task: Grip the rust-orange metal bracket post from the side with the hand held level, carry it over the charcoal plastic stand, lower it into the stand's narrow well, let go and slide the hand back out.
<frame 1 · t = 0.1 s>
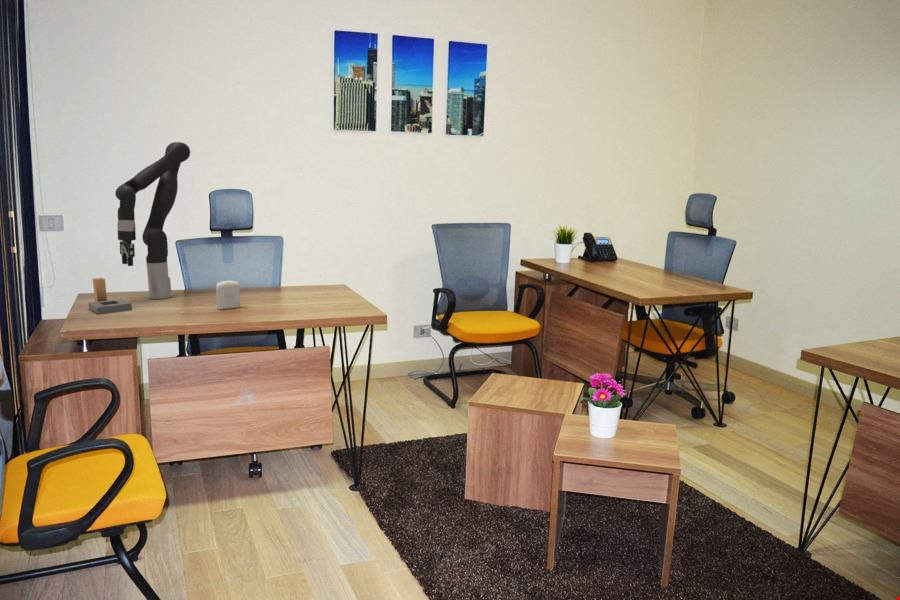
hand: (127, 264, 334), 17 cm above the table, fingers open, 8 cm apart
bracket post: (101, 304, 330), on the table
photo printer: (229, 308, 321), on the table
well stand: (110, 309, 319), on the table
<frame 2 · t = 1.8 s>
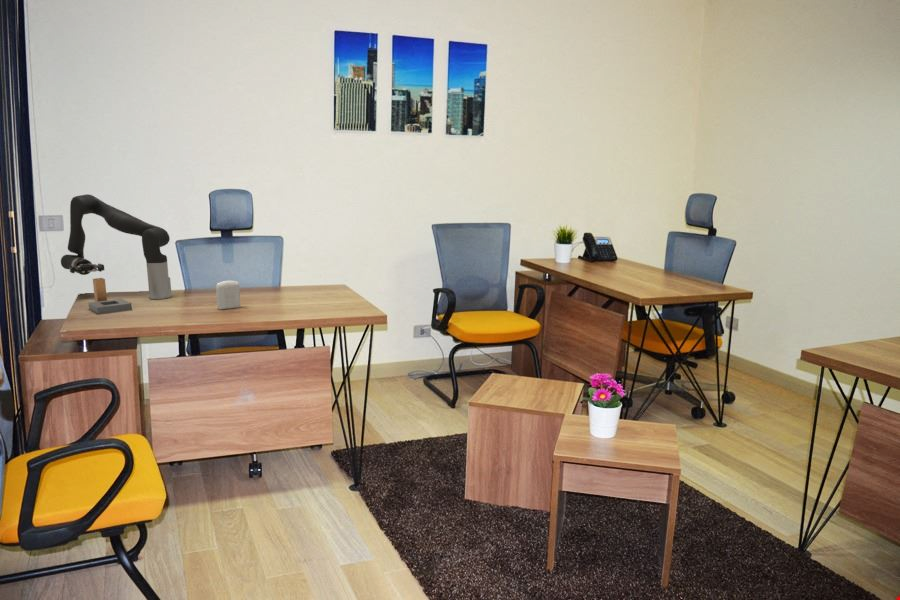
hand: (91, 270, 335), 15 cm above the table, fingers open, 8 cm apart
nothing on the table moved.
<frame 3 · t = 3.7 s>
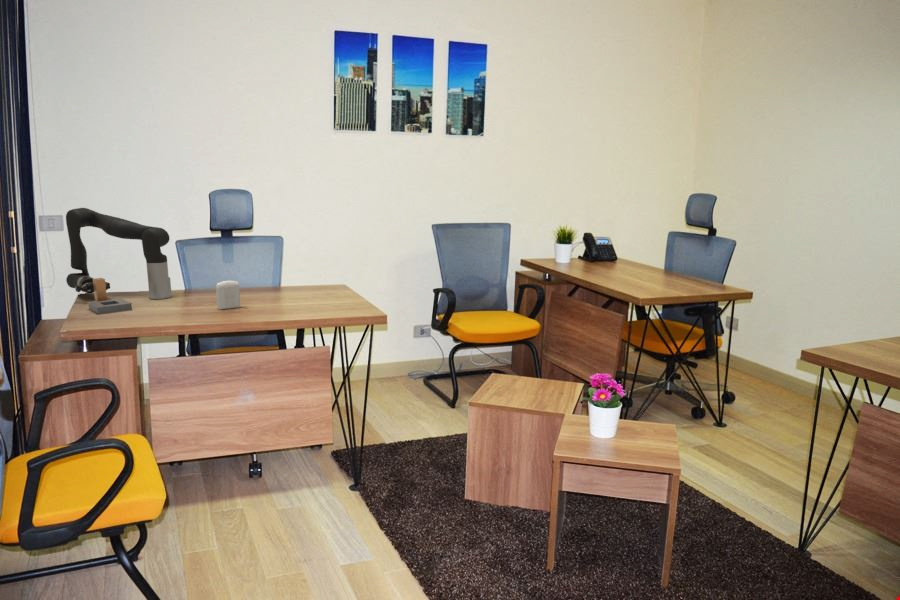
hand: (96, 288, 333), 7 cm above the table, fingers open, 8 cm apart
nothing on the table moved.
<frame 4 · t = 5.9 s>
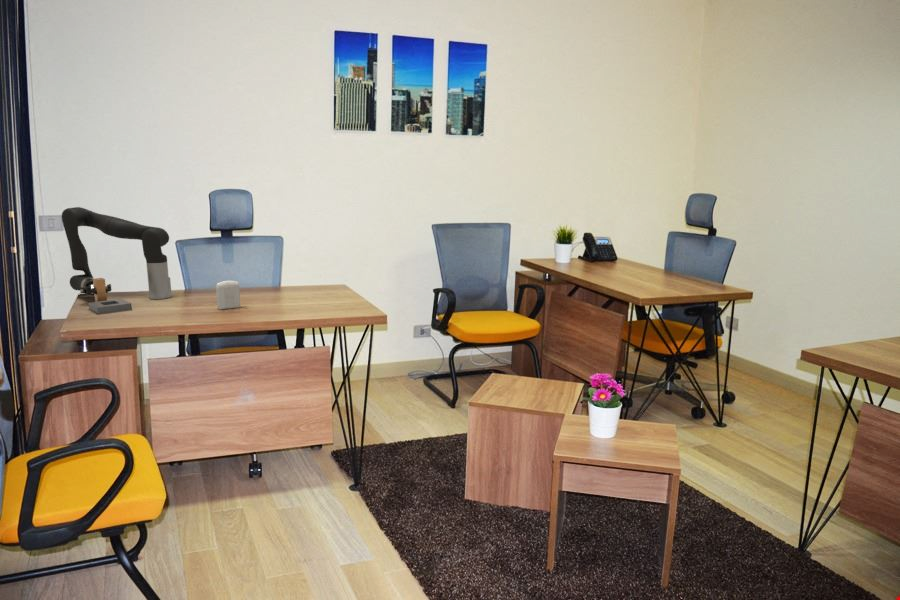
hand: (101, 291, 326), 7 cm above the table, fingers closed on bracket post, 4 cm apart
bracket post: (101, 304, 330), on the table, touching gripper
everything else where it was.
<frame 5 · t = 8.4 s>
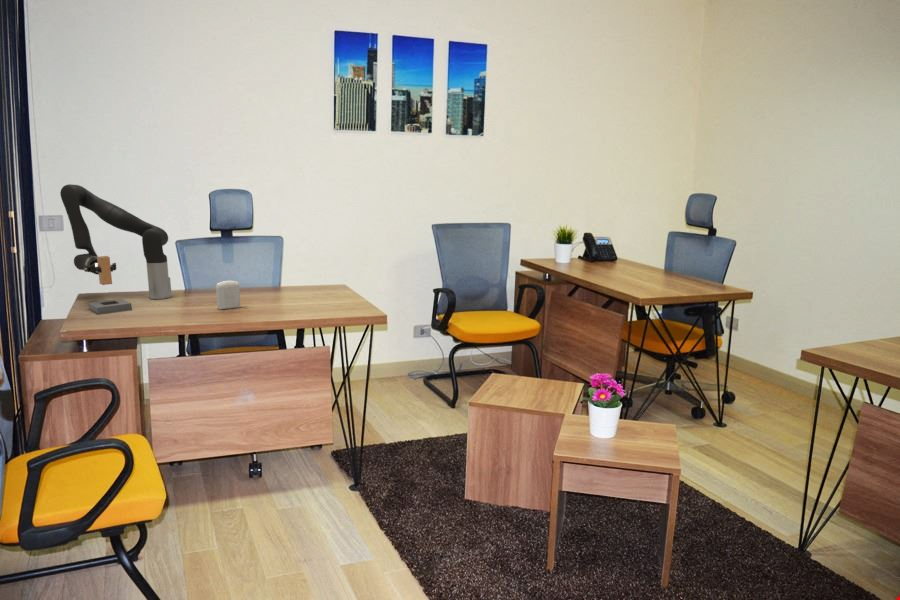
hand: (106, 269, 315), 18 cm above the table, fingers closed on bracket post, 4 cm apart
bracket post: (105, 283, 319), point 11 cm above the table, touching gripper
everything else where it was.
when the fingers open (8 cm above the table, at t = 11.3 s): bracket post drops 1 cm, resting on well stand.
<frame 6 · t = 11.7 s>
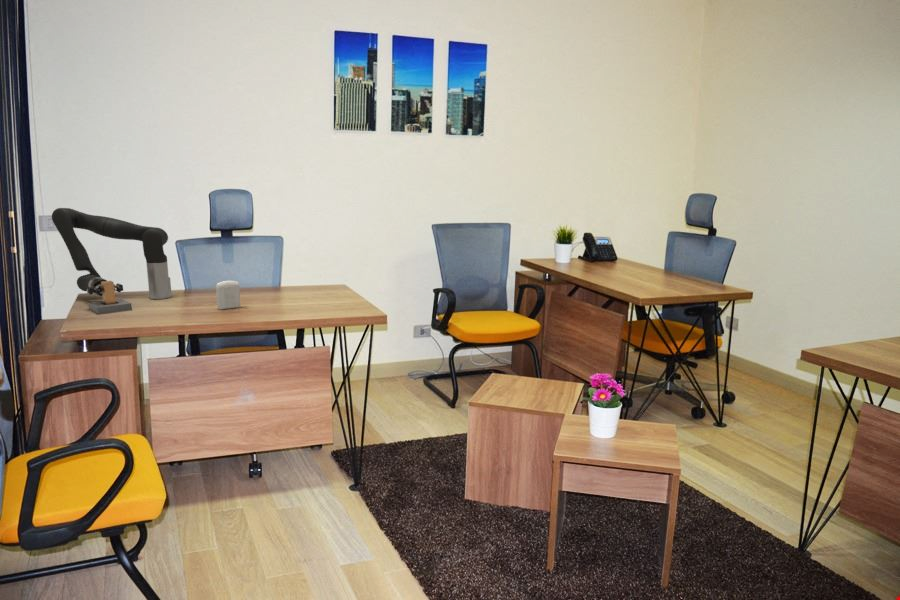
hand: (109, 291, 316), 9 cm above the table, fingers open, 8 cm apart
bracket post: (110, 308, 319), point 1 cm above the table, touching well stand
everything else where it was.
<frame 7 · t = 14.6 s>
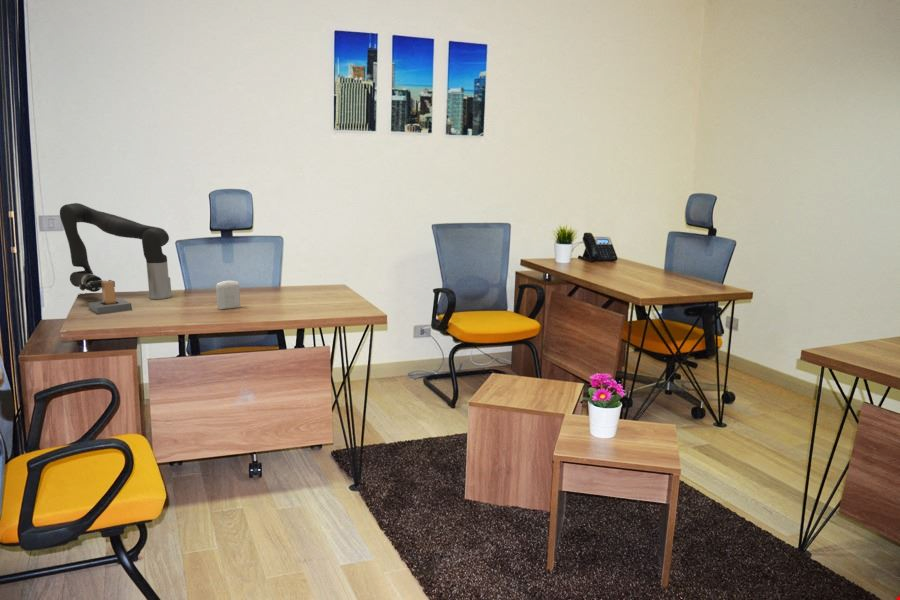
hand: (101, 287, 326), 9 cm above the table, fingers open, 8 cm apart
nothing on the table moved.
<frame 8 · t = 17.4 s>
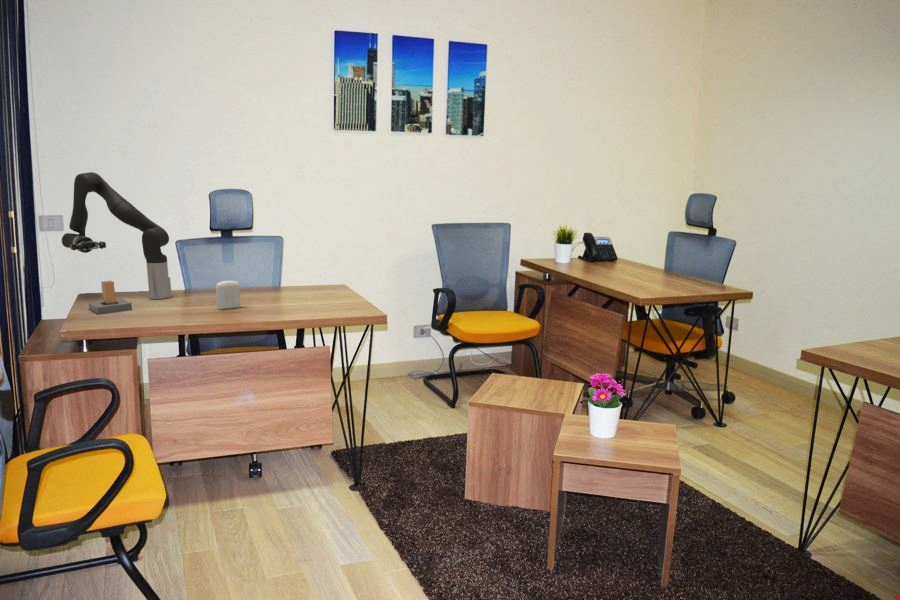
hand: (92, 247, 328), 26 cm above the table, fingers open, 8 cm apart
nothing on the table moved.
at the end: bracket post 0.0 cm off-centre on the well stand, point 0.5 cm above the well stand's base; bracket post tilted 0°; the gripper is holding nothing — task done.
